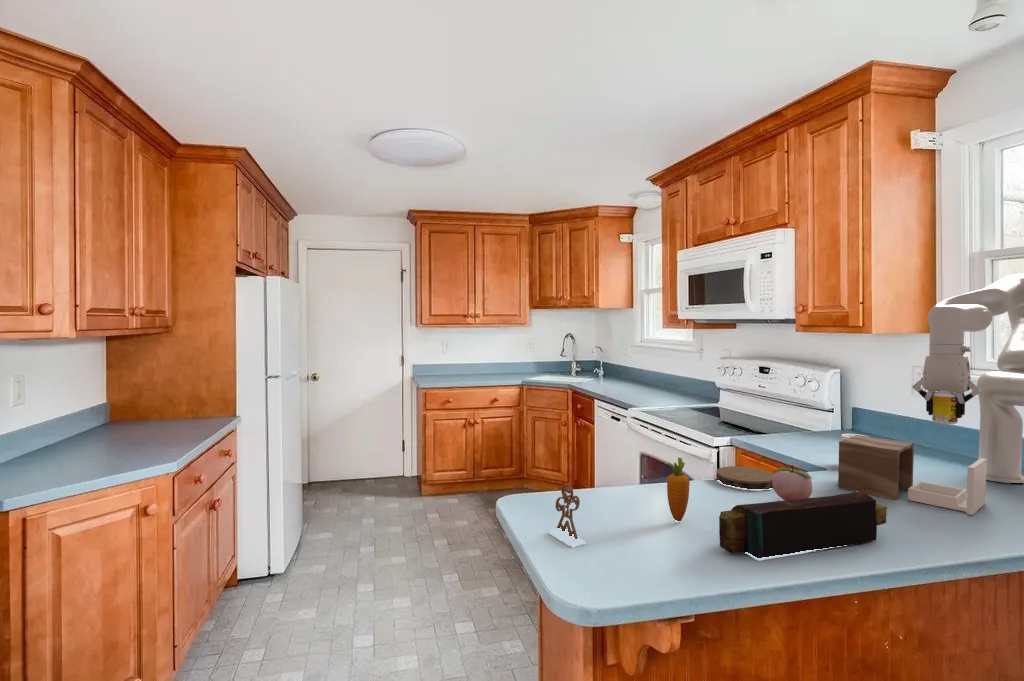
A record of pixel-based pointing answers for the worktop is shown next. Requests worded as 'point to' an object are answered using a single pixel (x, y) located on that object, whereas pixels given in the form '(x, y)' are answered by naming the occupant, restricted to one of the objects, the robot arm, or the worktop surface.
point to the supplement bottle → (944, 407)
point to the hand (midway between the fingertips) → (945, 415)
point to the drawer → (955, 491)
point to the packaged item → (800, 524)
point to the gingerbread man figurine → (567, 513)
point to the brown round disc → (745, 477)
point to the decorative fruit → (792, 484)
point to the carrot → (677, 490)
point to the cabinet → (875, 465)
